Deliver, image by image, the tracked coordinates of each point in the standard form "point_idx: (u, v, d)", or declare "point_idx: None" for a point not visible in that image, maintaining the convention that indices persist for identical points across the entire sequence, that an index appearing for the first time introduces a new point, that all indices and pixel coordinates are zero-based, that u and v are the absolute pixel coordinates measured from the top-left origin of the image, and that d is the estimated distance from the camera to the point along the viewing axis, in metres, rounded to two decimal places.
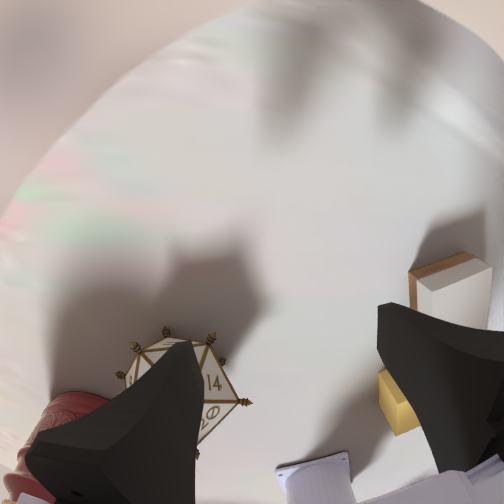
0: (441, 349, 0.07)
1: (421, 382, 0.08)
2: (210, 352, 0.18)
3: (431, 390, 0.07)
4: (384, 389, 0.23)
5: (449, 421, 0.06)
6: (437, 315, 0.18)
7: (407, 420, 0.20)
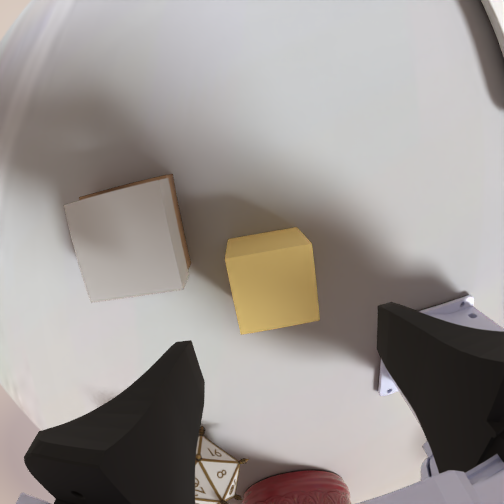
0: (441, 349, 0.07)
1: (420, 382, 0.08)
2: None
3: (431, 390, 0.07)
4: None
5: (449, 421, 0.06)
6: (116, 291, 0.16)
7: (286, 310, 0.17)
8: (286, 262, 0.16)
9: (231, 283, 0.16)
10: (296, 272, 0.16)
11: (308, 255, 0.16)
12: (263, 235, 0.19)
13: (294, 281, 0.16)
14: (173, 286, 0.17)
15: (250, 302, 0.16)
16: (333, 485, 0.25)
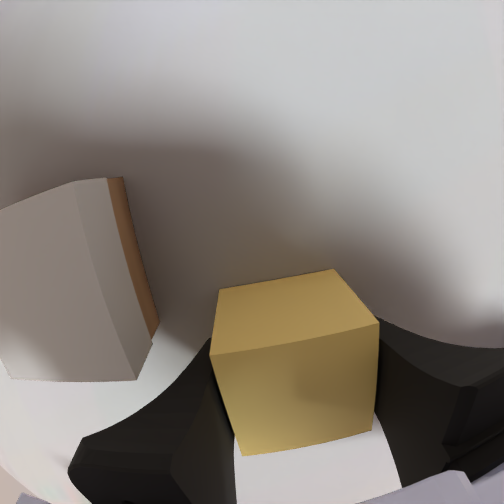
0: (400, 363, 0.07)
1: (384, 395, 0.08)
2: None
3: (393, 404, 0.07)
4: None
5: (409, 438, 0.06)
6: (38, 370, 0.08)
7: (320, 425, 0.08)
8: (329, 358, 0.08)
9: (224, 393, 0.08)
10: (345, 372, 0.08)
11: (370, 343, 0.08)
12: (279, 287, 0.11)
13: (341, 385, 0.08)
14: (119, 374, 0.08)
15: (259, 419, 0.08)
16: None
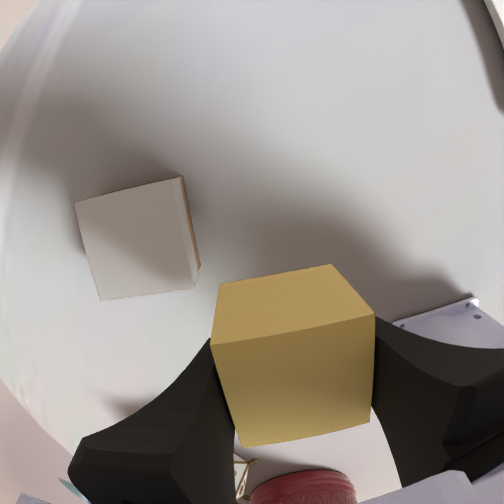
0: (400, 363, 0.07)
1: (384, 395, 0.08)
2: None
3: (393, 404, 0.07)
4: None
5: (409, 438, 0.06)
6: (127, 290, 0.17)
7: (319, 416, 0.09)
8: (326, 348, 0.08)
9: (224, 383, 0.08)
10: (342, 362, 0.08)
11: (366, 333, 0.08)
12: (278, 281, 0.11)
13: (338, 376, 0.08)
14: (184, 285, 0.17)
15: (258, 409, 0.09)
16: (340, 484, 0.25)
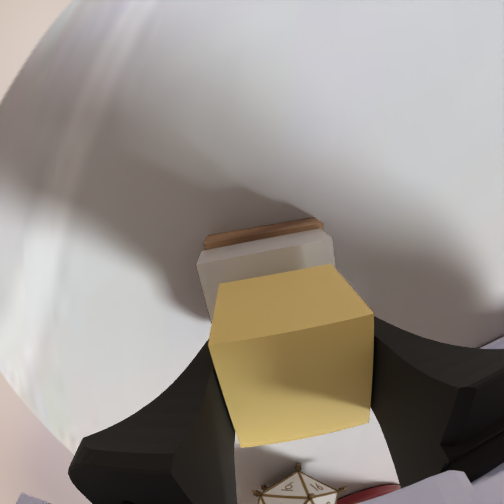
0: (399, 364, 0.07)
1: (383, 395, 0.08)
2: (265, 498, 0.19)
3: (392, 404, 0.07)
4: None
5: (407, 438, 0.06)
6: None
7: (318, 416, 0.09)
8: (325, 348, 0.08)
9: (222, 383, 0.08)
10: (341, 362, 0.08)
11: (365, 334, 0.08)
12: (278, 281, 0.11)
13: (337, 376, 0.08)
14: None
15: (257, 409, 0.09)
16: None
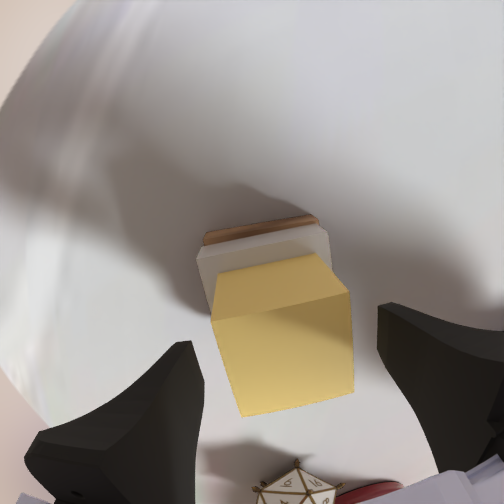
0: (441, 349, 0.07)
1: (420, 382, 0.08)
2: (264, 494, 0.20)
3: (431, 390, 0.07)
4: None
5: (449, 421, 0.06)
6: None
7: (307, 385, 0.10)
8: (309, 322, 0.10)
9: (223, 356, 0.10)
10: (324, 335, 0.10)
11: (343, 309, 0.10)
12: (269, 269, 0.13)
13: (321, 348, 0.10)
14: None
15: (254, 379, 0.10)
16: None
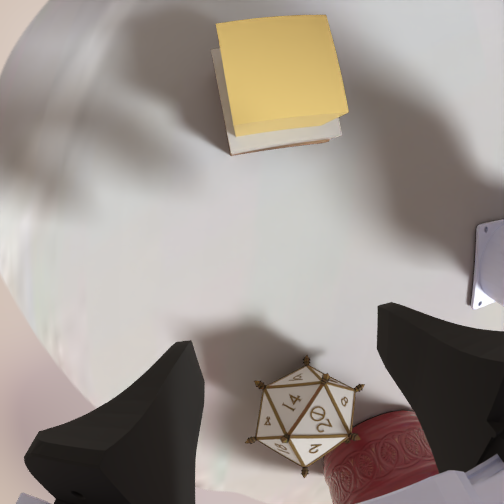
0: (441, 349, 0.07)
1: (420, 382, 0.08)
2: (270, 390, 0.20)
3: (431, 390, 0.07)
4: (254, 130, 0.14)
5: (449, 421, 0.06)
6: (267, 137, 0.15)
7: (300, 90, 0.10)
8: (295, 30, 0.10)
9: (222, 51, 0.10)
10: (309, 42, 0.10)
11: (323, 26, 0.10)
12: None
13: (308, 53, 0.10)
14: (332, 132, 0.15)
15: (248, 76, 0.10)
16: None
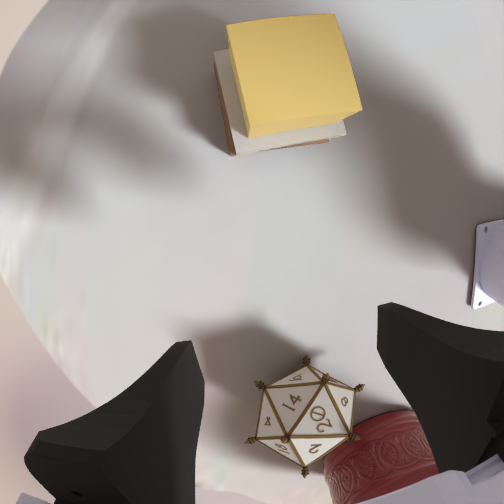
0: (441, 349, 0.07)
1: (420, 382, 0.08)
2: (270, 390, 0.20)
3: (431, 390, 0.07)
4: (267, 131, 0.14)
5: (449, 421, 0.06)
6: (273, 138, 0.15)
7: (314, 89, 0.10)
8: (306, 29, 0.10)
9: (235, 52, 0.10)
10: (320, 41, 0.10)
11: (332, 25, 0.10)
12: None
13: (320, 52, 0.10)
14: (336, 131, 0.15)
15: (262, 76, 0.10)
16: None
